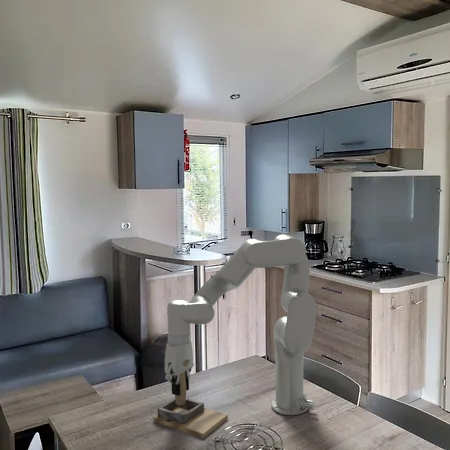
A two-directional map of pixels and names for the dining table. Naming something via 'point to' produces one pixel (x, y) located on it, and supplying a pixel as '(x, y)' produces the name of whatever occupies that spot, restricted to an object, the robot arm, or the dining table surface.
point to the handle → (182, 387)
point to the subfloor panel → (190, 417)
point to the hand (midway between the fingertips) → (180, 391)
